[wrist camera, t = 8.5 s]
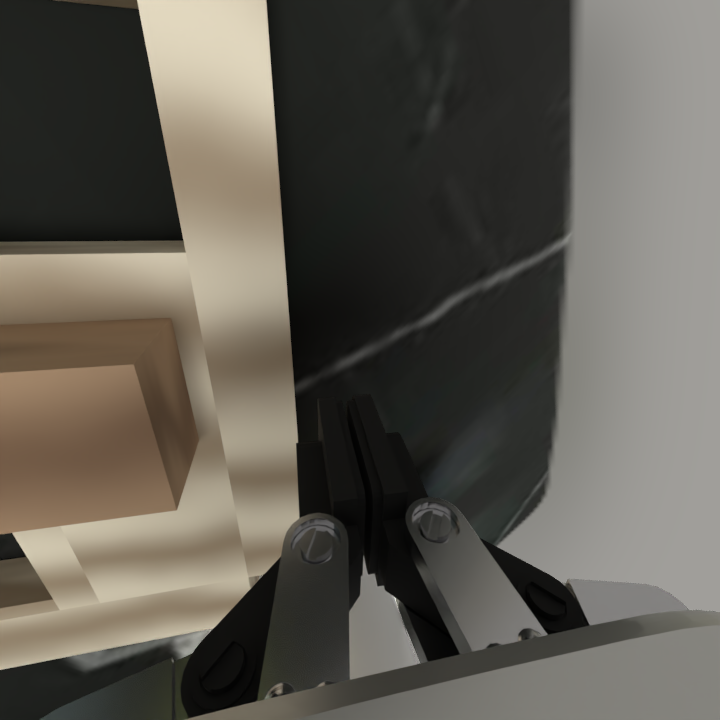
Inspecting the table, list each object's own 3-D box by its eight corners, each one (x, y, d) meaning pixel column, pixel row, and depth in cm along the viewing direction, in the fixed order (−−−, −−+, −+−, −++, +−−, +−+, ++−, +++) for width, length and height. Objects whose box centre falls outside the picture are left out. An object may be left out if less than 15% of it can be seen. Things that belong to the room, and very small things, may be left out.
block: (199, 440, 16) (176, 510, 13) (51, 455, 15) (-16, 536, 12) (171, 317, 14) (133, 364, 10) (-10, 325, 13) (-122, 380, 9)
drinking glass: (375, 515, 26) (475, 868, 12) (397, 566, 29) (495, 889, 16) (286, 549, 25) (292, 945, 12) (319, 597, 29) (351, 950, 15)
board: (307, 567, 27) (310, 609, 24) (-60, 630, 22) (-105, 690, 20) (263, -36, 12) (259, -96, 9) (-801, -177, 8) (-1339, -355, 5)
